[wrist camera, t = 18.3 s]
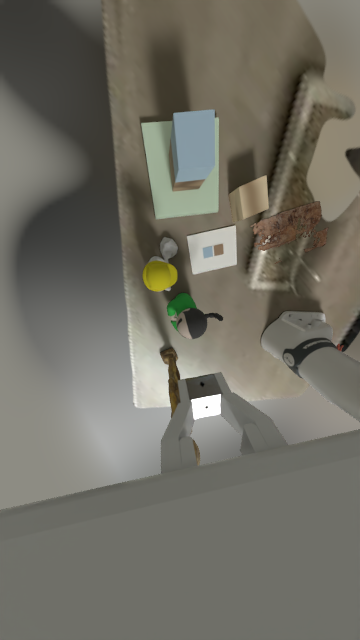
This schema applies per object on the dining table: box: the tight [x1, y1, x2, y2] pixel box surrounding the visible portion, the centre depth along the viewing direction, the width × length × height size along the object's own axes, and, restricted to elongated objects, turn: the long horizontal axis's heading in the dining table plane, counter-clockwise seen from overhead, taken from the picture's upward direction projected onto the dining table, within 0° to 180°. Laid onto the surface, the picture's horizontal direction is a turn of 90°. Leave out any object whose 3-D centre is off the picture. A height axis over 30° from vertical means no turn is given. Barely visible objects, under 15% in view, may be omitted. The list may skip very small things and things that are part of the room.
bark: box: [250, 201, 328, 264], centre depth 39 cm, size 22×12×1 cm, turn 111°
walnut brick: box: [169, 138, 205, 192], centre depth 28 cm, size 6×6×5 cm
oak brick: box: [229, 176, 269, 222], centre depth 32 cm, size 6×6×5 cm
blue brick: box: [171, 110, 215, 183], centre depth 23 cm, size 6×6×5 cm
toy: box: [167, 293, 223, 339], centre depth 36 cm, size 10×11×15 cm
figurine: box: [143, 237, 178, 292], centre depth 31 cm, size 10×9×15 cm
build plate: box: [141, 118, 219, 219], centre depth 30 cm, size 14×14×1 cm
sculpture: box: [160, 348, 200, 466], centre depth 37 cm, size 7×6×30 cm
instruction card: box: [187, 225, 237, 274], centre depth 38 cm, size 12×9×1 cm
